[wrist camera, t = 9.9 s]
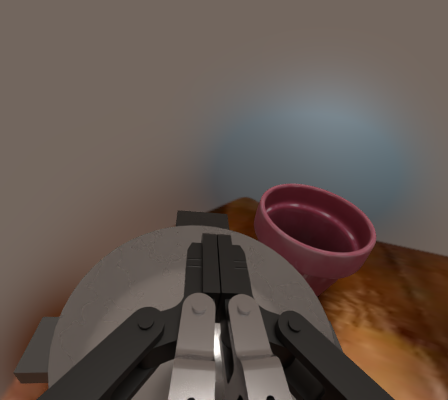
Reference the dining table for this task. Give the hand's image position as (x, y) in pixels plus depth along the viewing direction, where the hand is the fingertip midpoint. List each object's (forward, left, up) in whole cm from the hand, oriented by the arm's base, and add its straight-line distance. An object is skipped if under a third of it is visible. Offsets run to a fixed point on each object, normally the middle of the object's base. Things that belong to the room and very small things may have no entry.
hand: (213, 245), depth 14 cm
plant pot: (-20, +1, -20) cm, 28 cm away
